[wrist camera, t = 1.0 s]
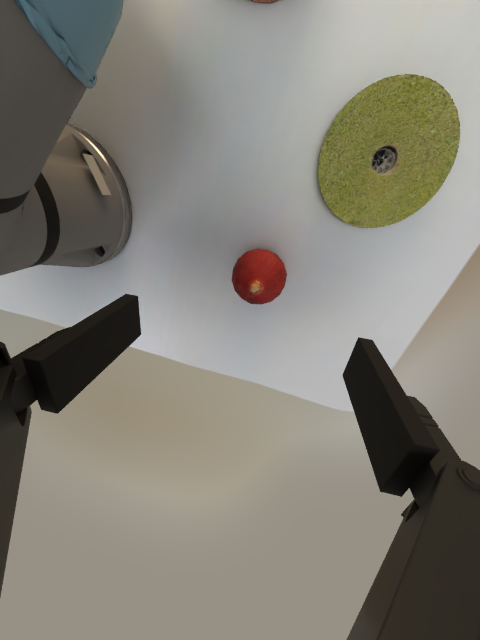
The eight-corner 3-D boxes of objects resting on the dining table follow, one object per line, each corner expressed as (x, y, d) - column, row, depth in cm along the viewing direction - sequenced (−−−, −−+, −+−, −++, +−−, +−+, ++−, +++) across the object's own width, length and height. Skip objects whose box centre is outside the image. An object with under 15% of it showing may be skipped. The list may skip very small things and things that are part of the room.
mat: (379, 246, 26) (385, 250, 24) (292, 188, 25) (293, 187, 23) (478, 133, 21) (495, 127, 19) (374, 52, 20) (383, 38, 18)
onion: (270, 298, 31) (266, 328, 24) (230, 277, 30) (214, 302, 23) (295, 258, 28) (298, 278, 21) (251, 234, 28) (240, 247, 21)
